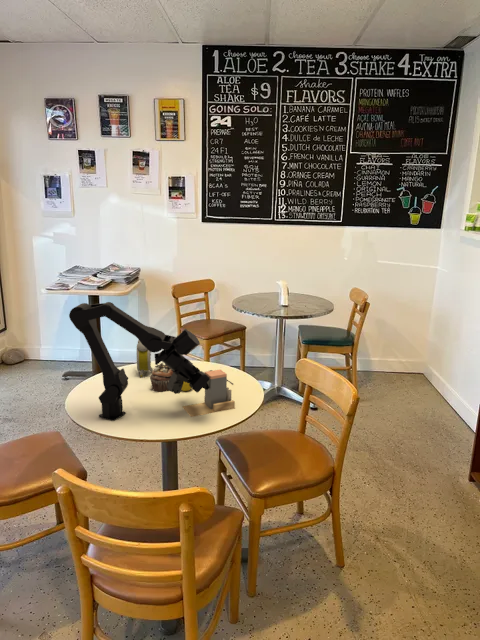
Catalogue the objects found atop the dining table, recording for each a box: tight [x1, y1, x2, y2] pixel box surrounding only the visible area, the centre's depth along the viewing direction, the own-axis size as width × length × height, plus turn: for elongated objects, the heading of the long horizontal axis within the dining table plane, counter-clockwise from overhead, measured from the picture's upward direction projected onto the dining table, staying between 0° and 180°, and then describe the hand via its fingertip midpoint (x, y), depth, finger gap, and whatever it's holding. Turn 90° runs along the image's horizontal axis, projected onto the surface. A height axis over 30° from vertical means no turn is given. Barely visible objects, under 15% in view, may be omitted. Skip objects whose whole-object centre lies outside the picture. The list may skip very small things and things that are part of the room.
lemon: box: [181, 382, 192, 392], centre depth 177 cm, size 6×6×8 cm
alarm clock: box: [136, 339, 154, 378], centre depth 195 cm, size 12×7×15 cm, turn 9°
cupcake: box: [149, 362, 173, 393], centre depth 180 cm, size 10×10×10 cm
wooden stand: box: [181, 387, 236, 418], centre depth 162 cm, size 16×9×7 cm, turn 116°
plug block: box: [204, 369, 228, 409], centre depth 163 cm, size 6×5×12 cm
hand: (207, 388), depth 160 cm, fingers closed
